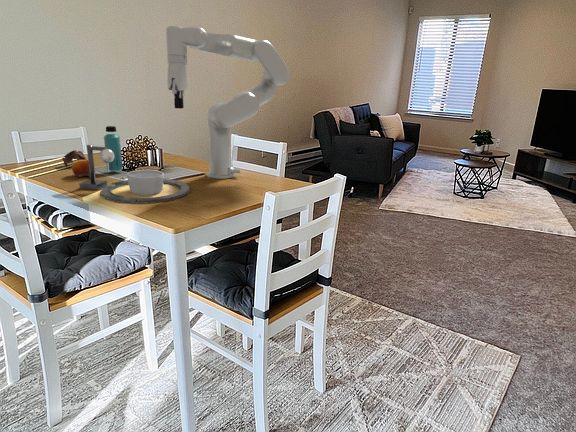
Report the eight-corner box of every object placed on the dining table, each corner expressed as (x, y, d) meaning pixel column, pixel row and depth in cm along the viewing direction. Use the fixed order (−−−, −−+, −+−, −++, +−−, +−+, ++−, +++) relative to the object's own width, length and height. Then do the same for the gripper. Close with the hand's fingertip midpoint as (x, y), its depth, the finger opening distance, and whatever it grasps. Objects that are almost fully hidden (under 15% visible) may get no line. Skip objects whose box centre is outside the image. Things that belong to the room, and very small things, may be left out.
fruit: (77, 176, 166) (72, 157, 167) (73, 182, 172) (68, 164, 173) (98, 174, 171) (93, 156, 172) (93, 180, 178) (89, 162, 178)
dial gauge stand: (120, 186, 161) (117, 145, 156) (111, 191, 154) (107, 148, 149) (90, 184, 162) (85, 143, 157) (79, 188, 155) (74, 146, 150)
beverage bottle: (117, 174, 178) (113, 127, 171) (103, 173, 179) (99, 126, 172) (126, 171, 184) (122, 126, 177) (112, 170, 185) (108, 124, 178)
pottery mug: (87, 169, 186) (75, 154, 182) (69, 177, 187) (56, 163, 183) (94, 157, 196) (82, 143, 192) (76, 165, 197) (65, 151, 193)
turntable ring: (199, 183, 170) (199, 180, 169) (171, 206, 141) (171, 202, 140) (126, 178, 172) (126, 175, 172) (84, 199, 143) (84, 195, 143)
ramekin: (171, 189, 161) (170, 171, 159) (152, 198, 149) (151, 179, 147) (141, 185, 164) (139, 168, 162) (120, 193, 152) (118, 175, 150)
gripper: (175, 60, 171) (176, 106, 177) (160, 59, 157) (163, 109, 163) (192, 61, 170) (193, 107, 176) (180, 60, 156) (181, 110, 162)
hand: (179, 108), depth 169 cm, fingers closed
